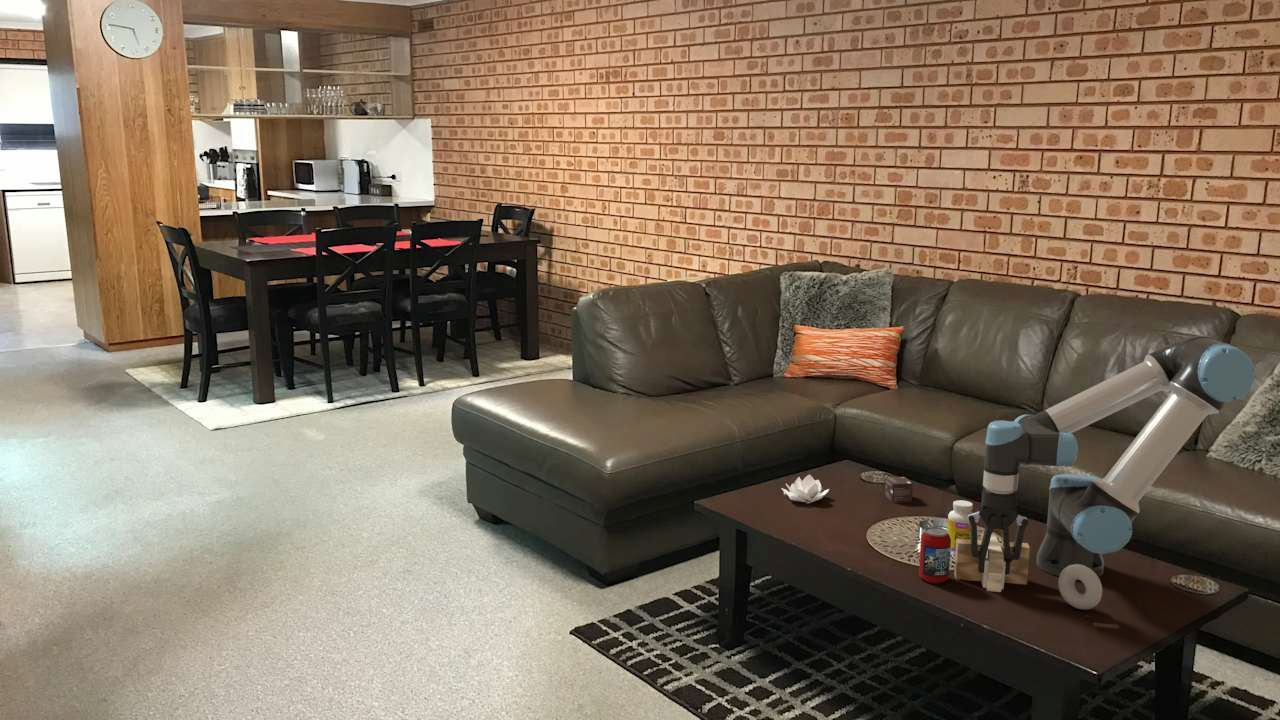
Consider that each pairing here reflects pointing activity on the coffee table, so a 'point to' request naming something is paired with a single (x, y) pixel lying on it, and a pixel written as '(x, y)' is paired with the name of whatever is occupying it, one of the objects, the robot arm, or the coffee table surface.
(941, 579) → the beverage can
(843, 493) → the coffee table surface
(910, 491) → the box
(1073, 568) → the donut
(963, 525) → the supplement bottle
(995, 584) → the notched cream plank
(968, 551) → the oak rail
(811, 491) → the lotus flower
